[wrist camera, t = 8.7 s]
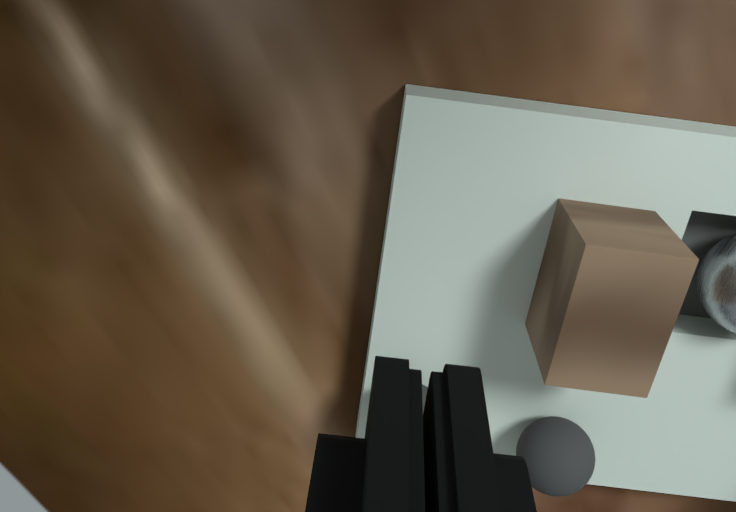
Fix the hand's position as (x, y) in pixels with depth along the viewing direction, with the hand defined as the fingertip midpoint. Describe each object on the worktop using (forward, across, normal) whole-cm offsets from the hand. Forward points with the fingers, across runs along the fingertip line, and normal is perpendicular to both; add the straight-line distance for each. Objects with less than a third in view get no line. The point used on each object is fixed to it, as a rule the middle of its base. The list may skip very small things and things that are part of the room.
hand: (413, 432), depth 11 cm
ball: (+15, -8, +14) cm, 23 cm away
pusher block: (+18, -8, +6) cm, 20 cm away
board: (+19, -10, +8) cm, 24 cm away
